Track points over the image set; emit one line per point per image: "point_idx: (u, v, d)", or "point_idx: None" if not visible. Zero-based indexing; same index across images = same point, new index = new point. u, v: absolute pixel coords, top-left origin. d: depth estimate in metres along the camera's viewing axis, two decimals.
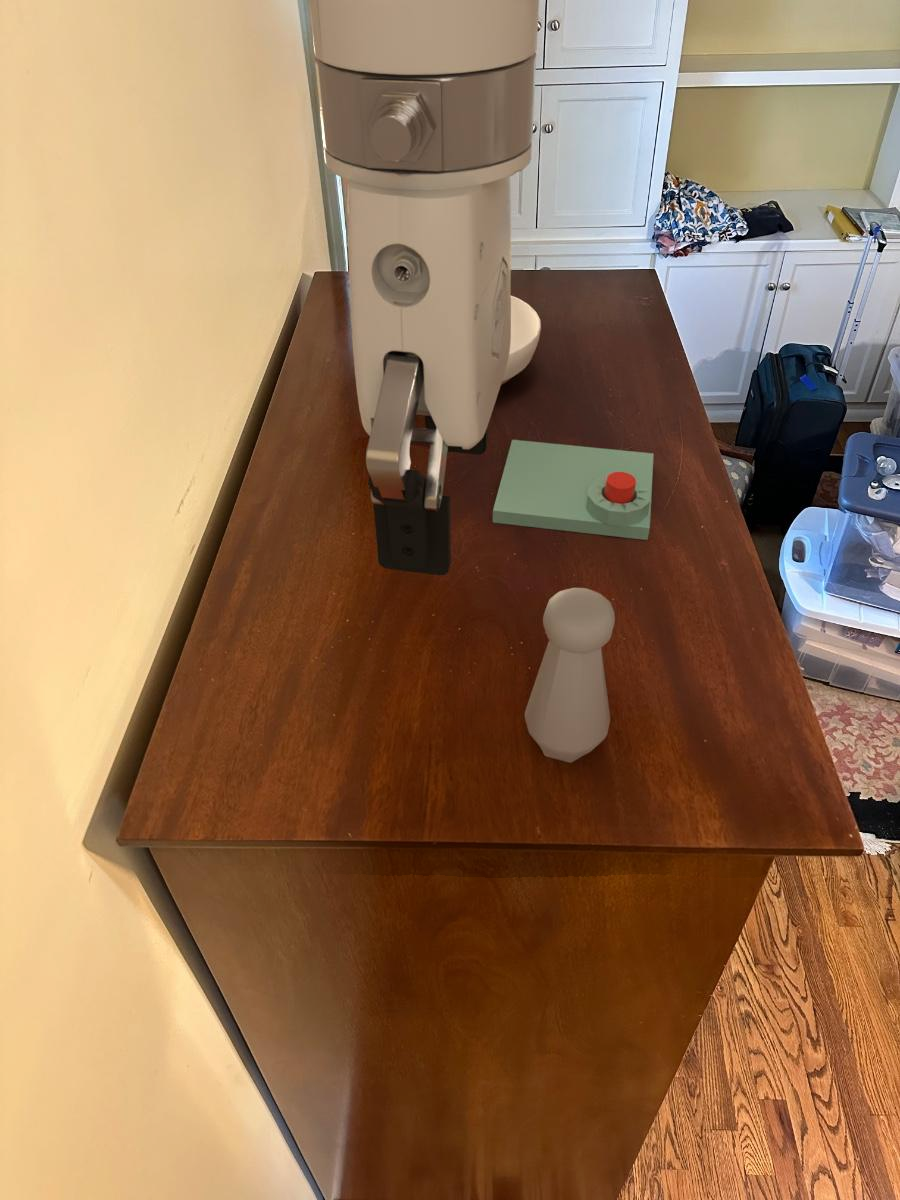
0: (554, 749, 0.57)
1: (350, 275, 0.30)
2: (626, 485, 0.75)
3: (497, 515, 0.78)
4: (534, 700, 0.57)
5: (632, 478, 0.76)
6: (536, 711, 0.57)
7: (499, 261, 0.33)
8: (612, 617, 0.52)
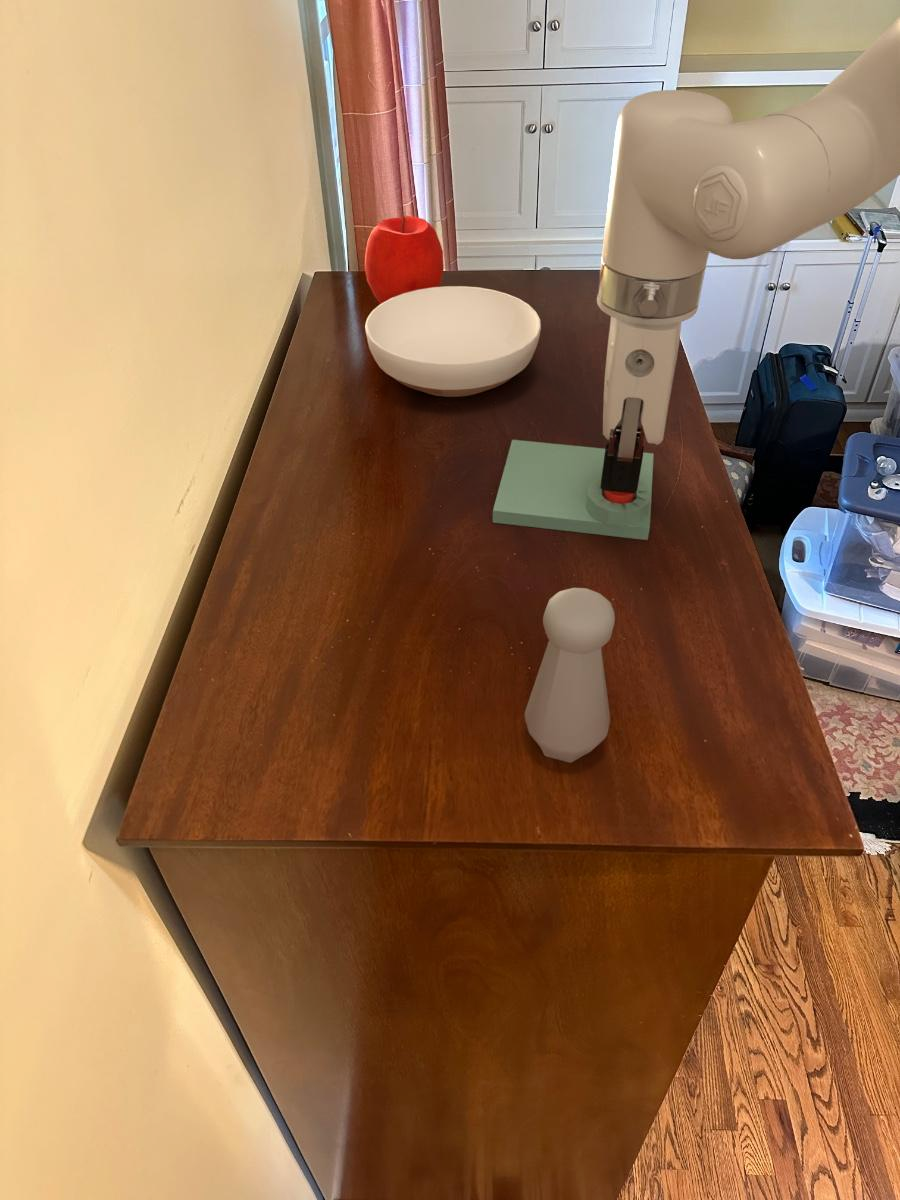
0: (554, 749, 0.57)
1: (612, 361, 0.64)
2: (624, 493, 0.76)
3: (497, 515, 0.78)
4: (534, 700, 0.57)
5: None
6: (536, 711, 0.57)
7: None
8: (612, 617, 0.52)
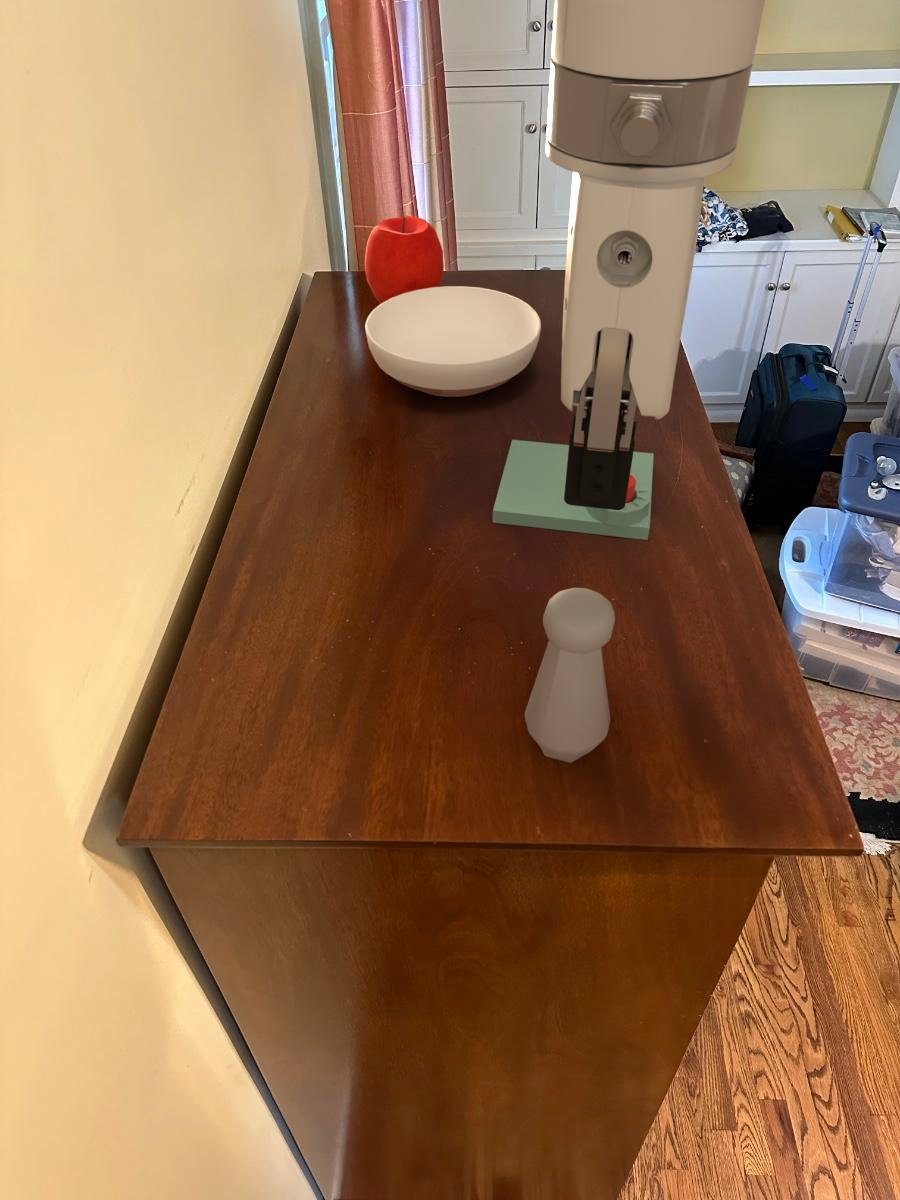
0: (554, 749, 0.57)
1: (573, 259, 0.34)
2: None
3: (497, 515, 0.78)
4: (534, 700, 0.57)
5: (632, 478, 0.76)
6: (536, 711, 0.57)
7: None
8: (612, 617, 0.52)
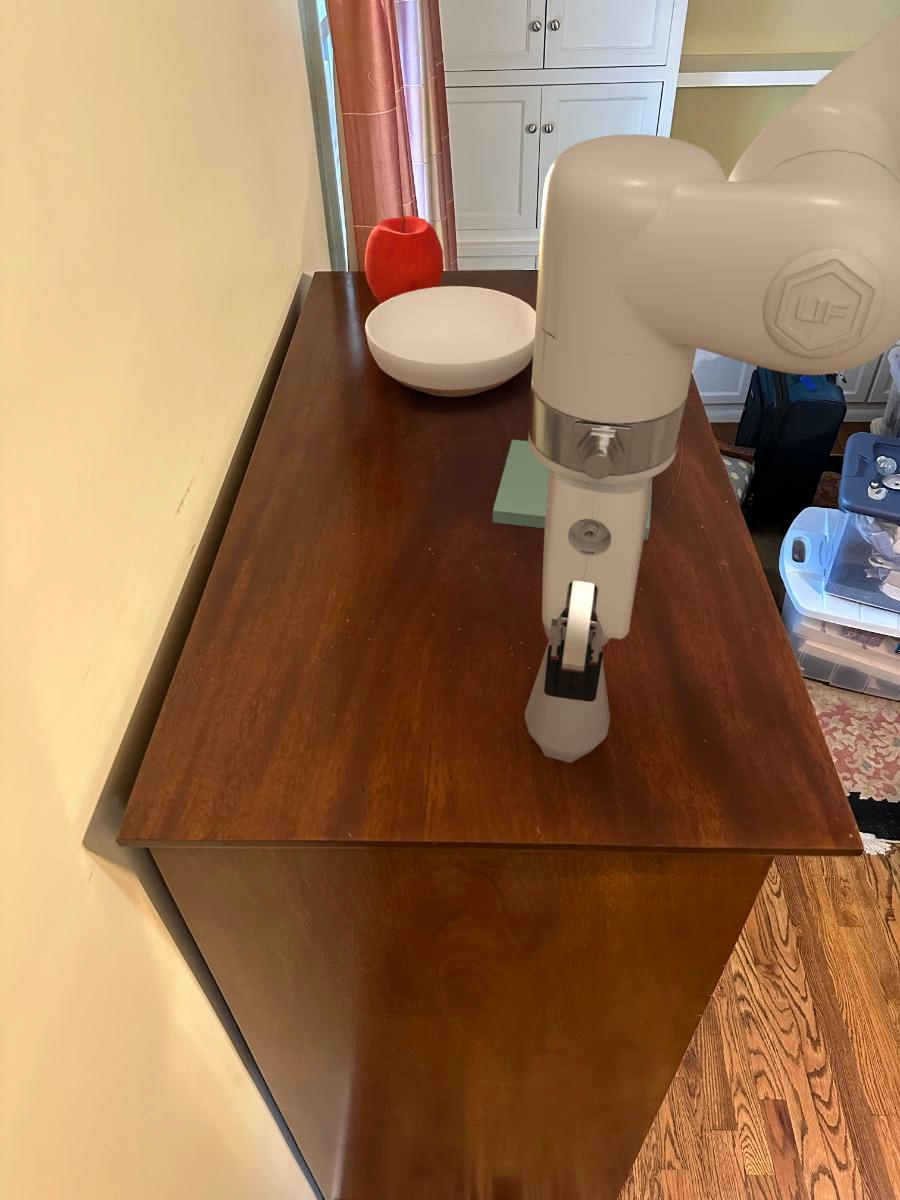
0: (554, 749, 0.57)
1: (550, 532, 0.43)
2: None
3: (497, 515, 0.78)
4: (534, 700, 0.57)
5: None
6: (536, 711, 0.57)
7: None
8: None
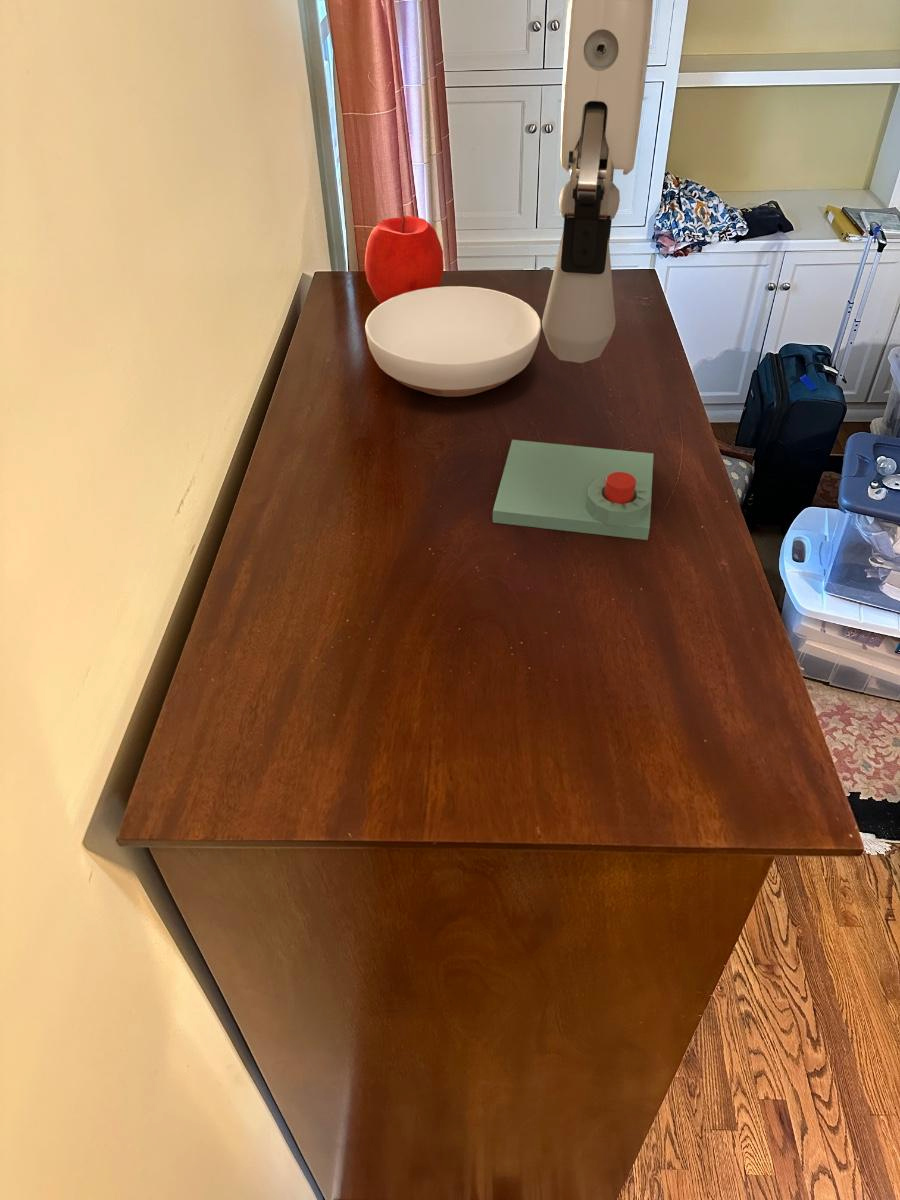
0: (568, 339, 0.67)
1: (568, 53, 0.53)
2: (625, 485, 0.75)
3: (497, 515, 0.78)
4: (550, 297, 0.67)
5: (632, 478, 0.76)
6: (552, 306, 0.67)
7: (648, 54, 0.55)
8: (617, 192, 0.61)
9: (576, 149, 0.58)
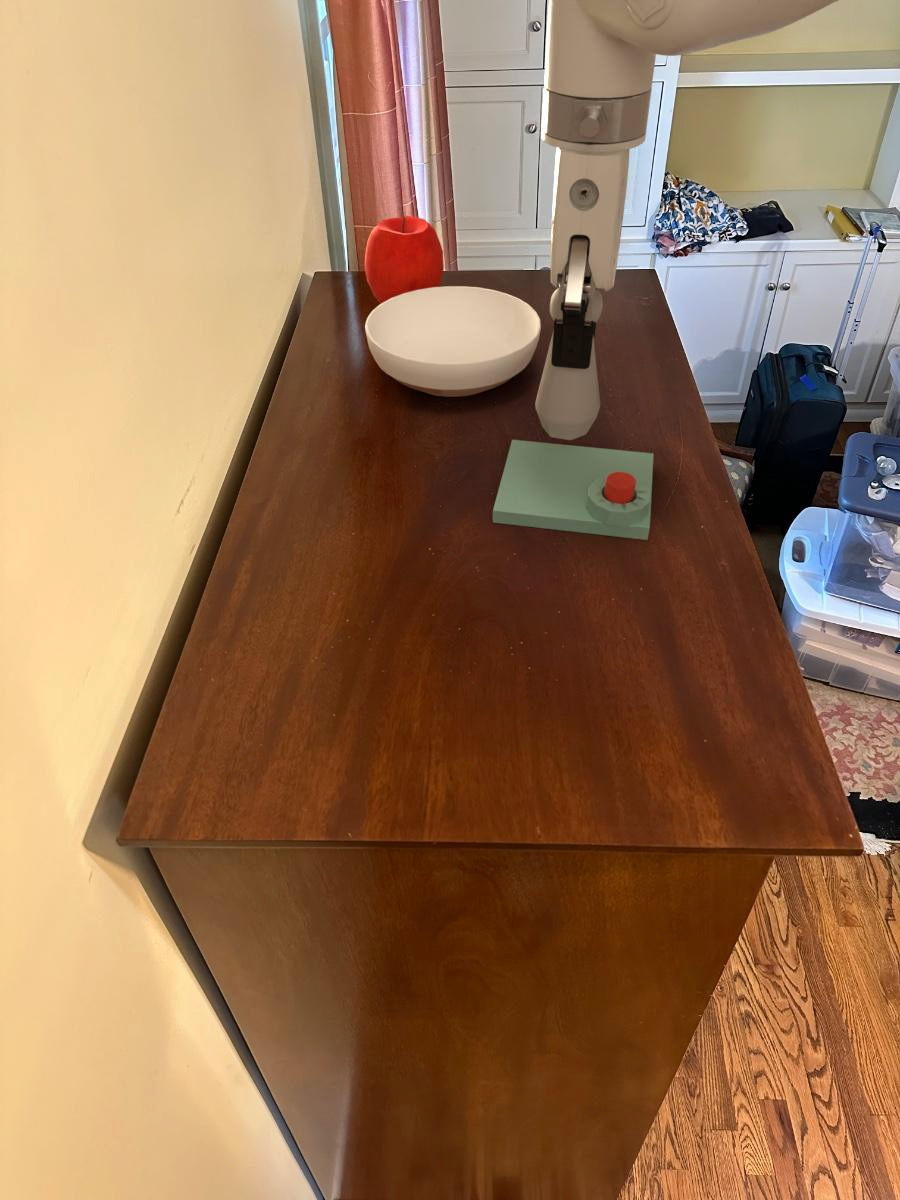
0: (558, 421, 0.76)
1: (556, 195, 0.62)
2: (625, 485, 0.75)
3: (497, 515, 0.78)
4: (543, 384, 0.76)
5: (632, 478, 0.76)
6: (544, 392, 0.76)
7: (625, 191, 0.64)
8: (600, 299, 0.70)
9: (564, 268, 0.66)
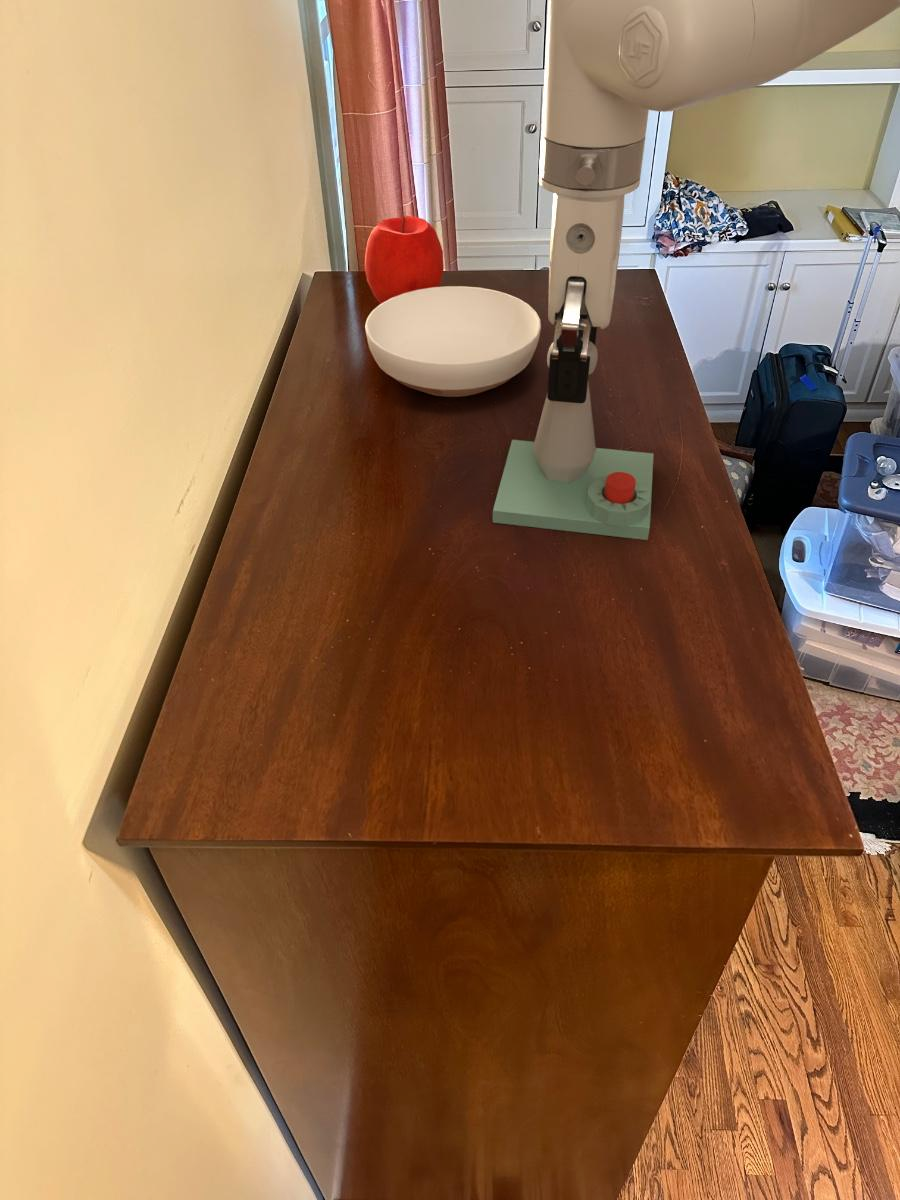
0: (555, 466, 0.79)
1: (554, 239, 0.64)
2: (625, 485, 0.75)
3: (497, 515, 0.78)
4: (540, 430, 0.79)
5: (632, 478, 0.76)
6: (541, 437, 0.79)
7: None
8: (596, 352, 0.73)
9: None
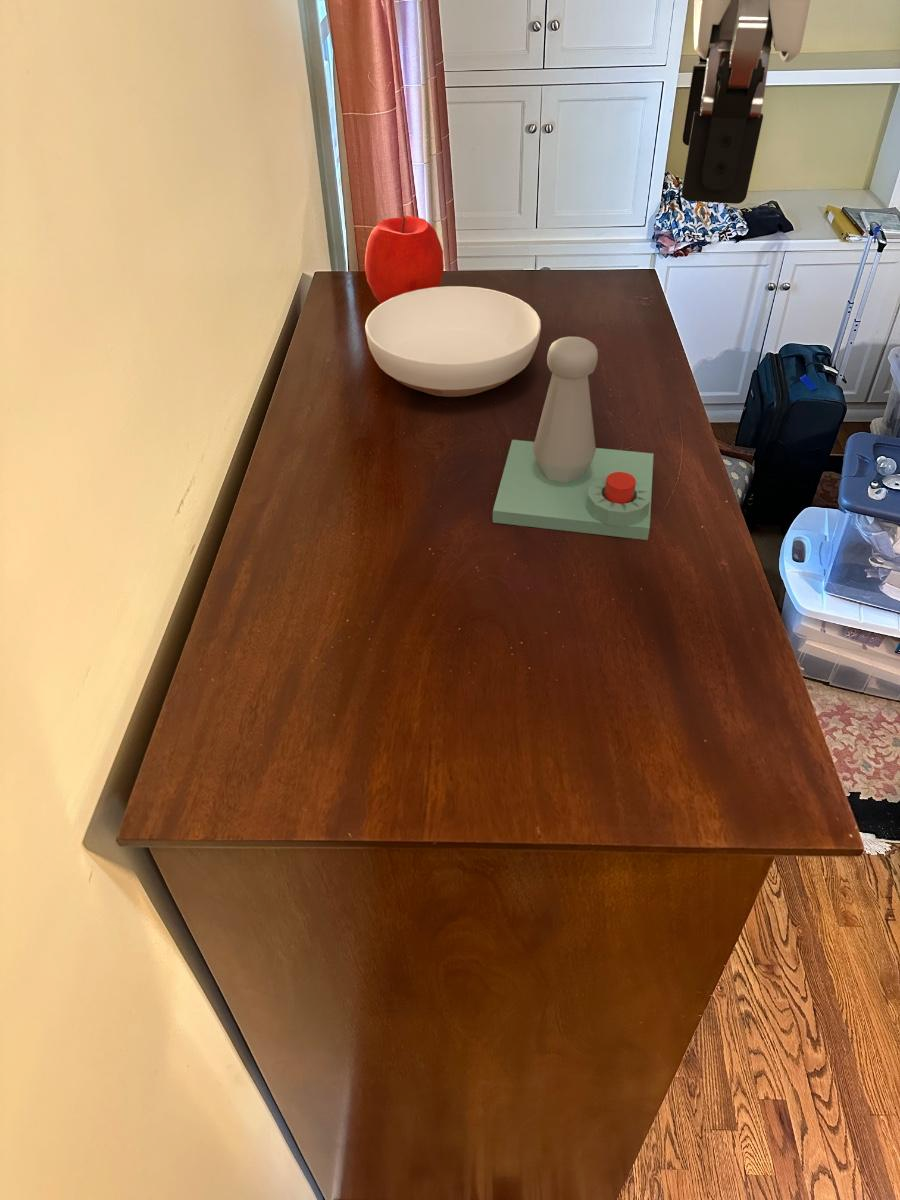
0: (555, 466, 0.79)
1: None
2: (625, 485, 0.75)
3: (497, 515, 0.78)
4: (540, 430, 0.79)
5: (632, 478, 0.76)
6: (541, 437, 0.79)
7: None
8: (596, 352, 0.73)
9: None
